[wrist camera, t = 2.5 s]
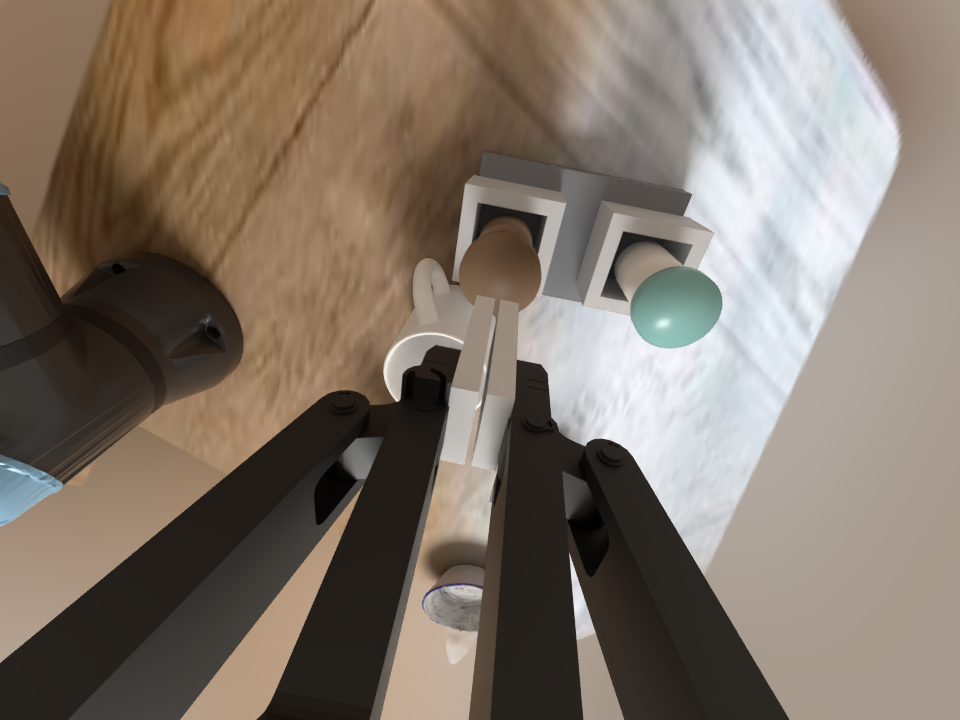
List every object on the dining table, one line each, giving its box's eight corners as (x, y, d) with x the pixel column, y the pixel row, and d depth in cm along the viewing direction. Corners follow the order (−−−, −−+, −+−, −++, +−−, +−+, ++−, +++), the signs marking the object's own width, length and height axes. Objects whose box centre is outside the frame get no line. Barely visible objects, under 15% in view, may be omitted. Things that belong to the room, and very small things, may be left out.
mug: (393, 249, 36) (351, 291, 28) (482, 235, 35) (468, 273, 26) (426, 361, 42) (399, 425, 33) (503, 353, 41) (497, 417, 32)
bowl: (449, 543, 58) (443, 576, 54) (526, 573, 60) (526, 607, 56) (416, 584, 64) (408, 616, 60) (486, 610, 67) (484, 643, 62)
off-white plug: (600, 290, 30) (622, 340, 23) (621, 229, 28) (652, 264, 21) (659, 302, 30) (699, 355, 23) (686, 241, 28) (738, 281, 21)
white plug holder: (461, 270, 37) (449, 300, 31) (479, 150, 31) (468, 156, 26) (640, 306, 37) (663, 341, 31) (688, 191, 32) (726, 207, 26)
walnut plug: (469, 265, 30) (453, 307, 23) (480, 201, 28) (465, 227, 21) (529, 277, 30) (530, 322, 23) (544, 214, 28) (550, 244, 21)
